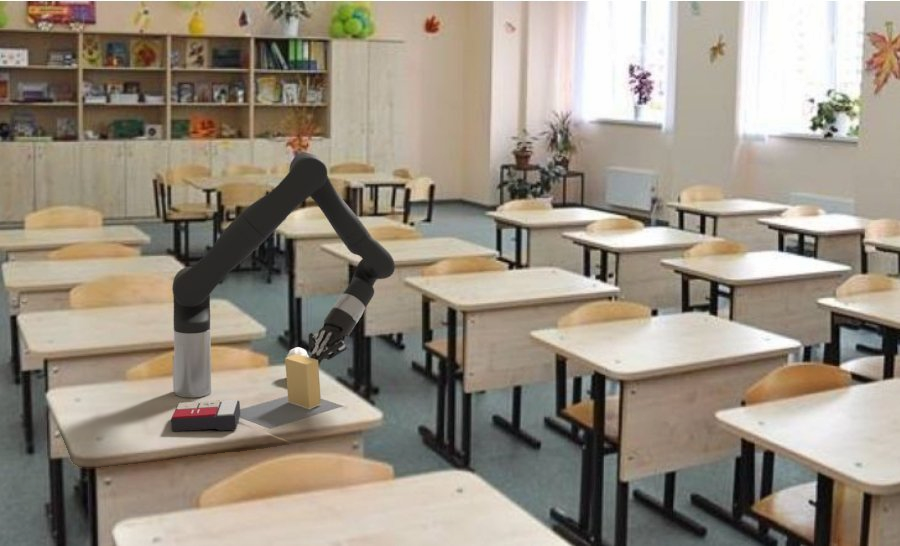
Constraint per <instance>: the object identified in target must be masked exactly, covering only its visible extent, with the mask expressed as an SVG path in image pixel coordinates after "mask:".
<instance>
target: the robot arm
mask: <svg viewBox="0 0 900 546" xmlns="http://www.w3.org/2000/svg"><path fill="white" fill-rule="evenodd" d="M288 169H289V172H288V173H287V174H286V176H285V177H284V178H283V179H282V180H281V181H280V182H279V183H278V184H277V185H276V186H275V188H273V189H272V190H271V191H270V192H268V193H266V194H265V195H263V196H262V197H260V198H258V200H256V201H254V202H253V203H251V204H250V205H248V206H247V207H246V208H245V209H244V210H243V211H242V212H241V213H239V214H238V215H237V216H236V217H235V218H234V219H233V221H231V222H230V224H229V225H227V226H226V228H225V229H224V231H222V233H221V234H220V235H219V237H218V238H217V239H216V241H215V242H214V243H213V246H211V248H210V250H209V251H207V253H206V254H205V255H204V256H203V257H202V258H200V259H199V260H198V261H197V262H196V263H194V265H192V266H186V267H183V268H182V269H180V270H179V271H177V273H176V274H175V276H174V278H173V280H172V282H173V283H172V289H171V291H172V299H173V348H174V349H173V350H174V351H173V353H174V354H173V356H172V382H173V383H172V384H173V386H172V388H173V392H174V394H175V395H176V396H178V397H180V398H200V397H201V398H202V397H205V396H208V395H210V394H211V393H212V355H211V353H212V351H211V348H212V347H211V346H212V345H211V294H212V292H213V291H214V289H216V287H217V286H218V285H219V284H220V283H221V281H223V279H224V278H225V277H226V276H227V275H228V274H229V273H230V272H231V271H232V270H233V269H235V268H236V267H237V266H239V265H240V264H241V263H242V262H243V261H244V260H246V259H247V258H248V257H249V256H250V255H251V254H252V253H253V252H254V251H256V250H257V249H258V248H259V247H260V246H261V245H262V244H263V243H264V242H265V241H266V240H267V239H268V238H269V237H270V236H271V235H272V234H273V233H274V232H275V231H276V229H278V227H280V225H281V224H282V223H283V222H284V221H285V220H286V219H287V218H288V216H289V215H291V213H292V212H293V211H294V210H295V209H296V208H297V207H299V206H300V205H301V204H303V202H304V201H306V200H307V199H308V198H311V199H312V200H313V201H314V203H315V204H316V206H318V207H319V209H320V210H321V211H322V212H321V213H323V214H324V216H325V218H326V219H327V221H328V222H329V224H330V226H331V227H332V228H333V230H334V232H335V233H336V235H337V236H338V237H339V239H340V240H341V241H342V243H343V244H344V245H345V248H347V250H348V251H349V252H350V253H351V254H354V255H356V256H359V257H360V258H361V260H360V261H359V262H358V263H357V266H356V267H355V271H354V273H353V276H352V277H351V278H352V279H351V282H350V283H349V284H348V286H346V289H345V290H344V291H343V293H342V294H341V296H340V297H339V298H338V299H337V301H336V302H335V304H333V306H332V307H331V309H330V311H329V313H328V314H327V315H326V317H325V319H324V321H323V326H322V327H321V328H320V329H319V330H318V332H316V333H313V332H310V333H309V334H308V351H309V353H311V356H309V358H313V359H316V360H318V367H320V364H321V363H322V361H325V360H327V361H329V360H332V359H333V358H334V357H336V356H338V355H340V354H341V353H343V352H344V351H346V350H347V348H348V347H347V346H346V344H345V343H344V342H345V340H346V338H348V337H349V336H350V334H351V333H352V331H353V330H354V328H355V327H356V325H357V324H358V322H359V320H360V319H361V317H362V316H363V314H364V311H365V310H366V308H367V307H368V305H369V303H370V302H371V300H372V298H373V297H374V294H375V288H374V285H375V283H376V282H377V280H383V279H388V278H390V277H391V276H392V275H393V274H394V272H395V267H396V266H395V259H394V258H393V257H392V255H391V253H390V252H389V251H388V250H387V249H386V248H385V247H384V246H383V245H381V243H380V242H379V241H378V240H377V239H375V238H374V237H372V235H371V234H370V232H369V231H368V229H367V228H366V227H365V226H364V224H363V222H362V221H361V220H360V218H359V217H358V216H357V214H355V212H354V211H353V209H351V208H350V207H349V205H348V204H347V203H346V201H345V200H344V199H343V198H342V197H341V195H340V194H339V193H338V191H337V190H336V188H335V187H334V185H333V183H332V182H331V180H330V178H329V176H328V168H327V166H326V164H325V162H324V161H323V160H322V159H321V158H320V157H318V156H317V155H316V154H313V153H308V152H304V153H303V152H302V153H300V154H297V155H296V156H295V157H294V158H293V159H292V160H291V162H290V164H289V168H288Z"/></svg>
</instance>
